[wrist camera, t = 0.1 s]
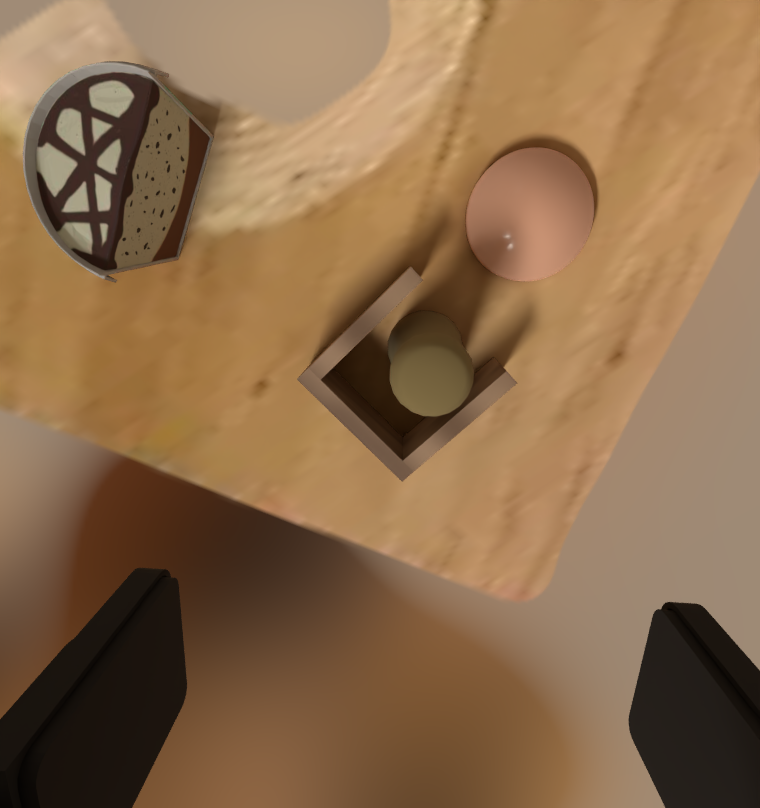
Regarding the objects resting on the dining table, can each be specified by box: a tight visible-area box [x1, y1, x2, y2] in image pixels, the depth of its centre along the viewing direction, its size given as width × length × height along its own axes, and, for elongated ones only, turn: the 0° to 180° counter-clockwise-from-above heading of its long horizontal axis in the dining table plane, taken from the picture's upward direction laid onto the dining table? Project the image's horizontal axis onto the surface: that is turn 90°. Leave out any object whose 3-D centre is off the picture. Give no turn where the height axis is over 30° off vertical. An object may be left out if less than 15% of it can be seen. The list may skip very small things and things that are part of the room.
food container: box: [23, 62, 214, 282], centre depth 32 cm, size 12×6×10 cm, turn 157°
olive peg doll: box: [388, 311, 474, 417], centre depth 34 cm, size 6×6×11 cm
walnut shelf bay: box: [297, 266, 517, 481], centre depth 37 cm, size 11×11×5 cm
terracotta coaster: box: [465, 147, 594, 281], centre depth 35 cm, size 9×9×1 cm
